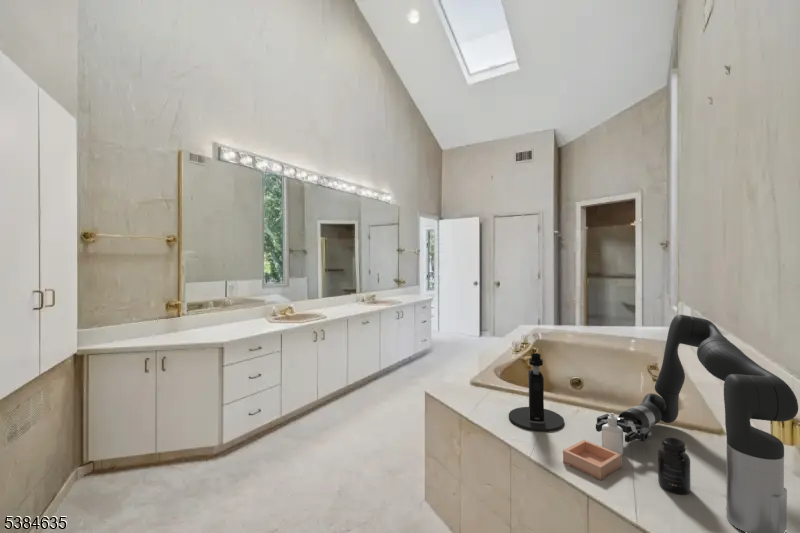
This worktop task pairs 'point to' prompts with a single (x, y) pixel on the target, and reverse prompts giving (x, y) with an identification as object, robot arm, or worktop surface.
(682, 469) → the supplement bottle
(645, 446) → the worktop surface
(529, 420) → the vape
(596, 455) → the tray
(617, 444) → the eye dropper bottle
